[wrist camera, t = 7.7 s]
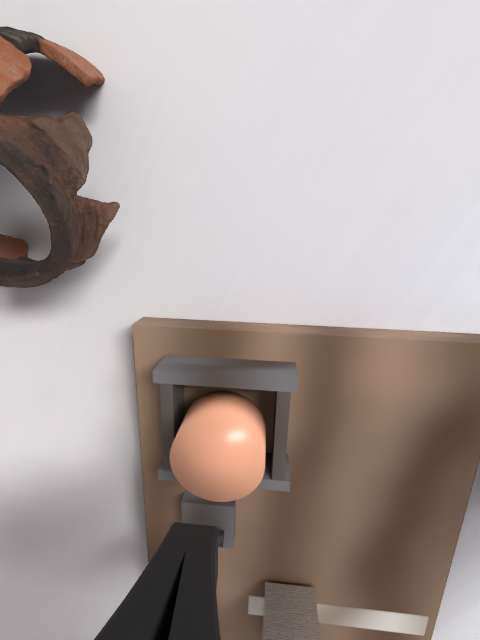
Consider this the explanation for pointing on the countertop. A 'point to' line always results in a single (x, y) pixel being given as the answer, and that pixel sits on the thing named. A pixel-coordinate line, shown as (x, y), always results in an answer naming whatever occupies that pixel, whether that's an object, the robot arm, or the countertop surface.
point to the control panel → (322, 465)
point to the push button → (220, 447)
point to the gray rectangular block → (290, 613)
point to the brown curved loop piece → (48, 166)
